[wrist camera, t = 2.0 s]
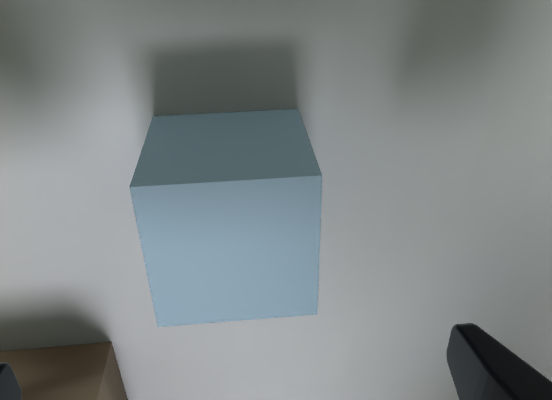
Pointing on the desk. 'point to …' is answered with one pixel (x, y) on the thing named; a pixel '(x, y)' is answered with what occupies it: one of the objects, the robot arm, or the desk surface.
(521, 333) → the desk surface
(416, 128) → the desk surface
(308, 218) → the cube
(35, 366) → the tower base
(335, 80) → the desk surface
